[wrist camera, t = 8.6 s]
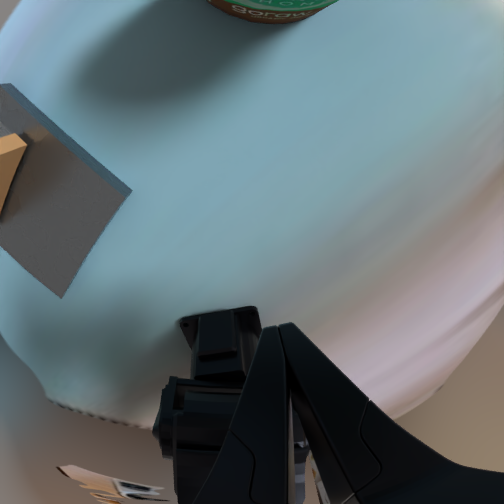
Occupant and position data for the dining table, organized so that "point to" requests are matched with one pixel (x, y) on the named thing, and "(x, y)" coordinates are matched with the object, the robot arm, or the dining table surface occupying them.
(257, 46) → the dining table surface
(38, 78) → the dining table surface
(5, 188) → the tan trapezoid block
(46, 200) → the bearing base
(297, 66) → the dining table surface
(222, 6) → the food container
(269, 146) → the dining table surface
